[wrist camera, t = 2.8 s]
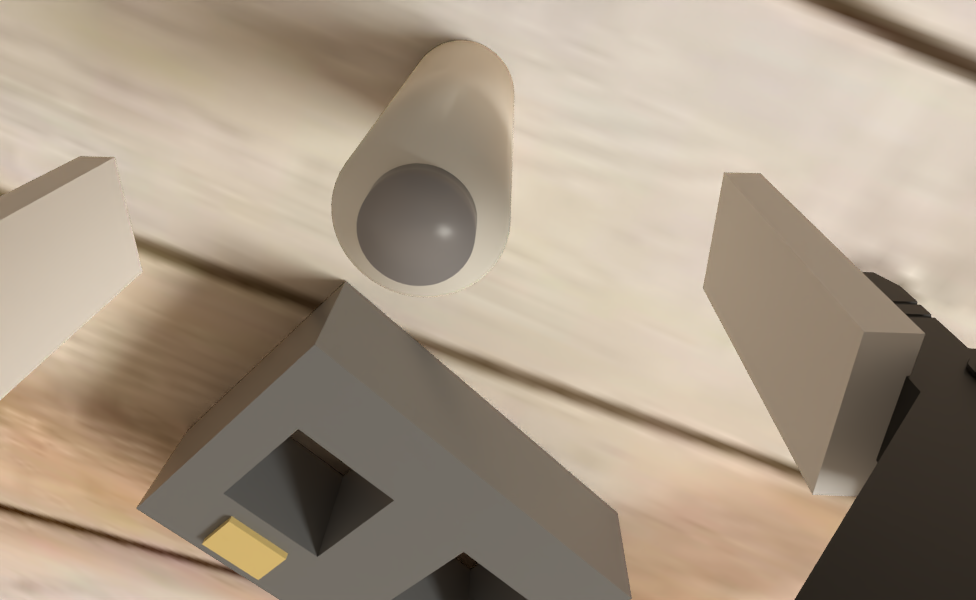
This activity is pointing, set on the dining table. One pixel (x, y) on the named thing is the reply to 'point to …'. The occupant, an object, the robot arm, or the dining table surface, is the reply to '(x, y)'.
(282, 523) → the socket block
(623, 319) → the dining table surface
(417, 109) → the plug
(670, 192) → the dining table surface
